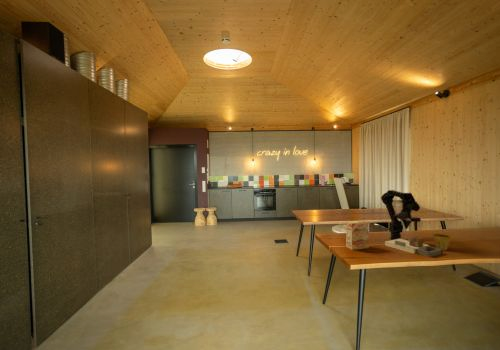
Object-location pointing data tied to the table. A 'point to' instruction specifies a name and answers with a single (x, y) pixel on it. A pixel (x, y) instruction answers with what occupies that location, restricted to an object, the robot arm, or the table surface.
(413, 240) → the walnut block
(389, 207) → the robot arm
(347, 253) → the table surface
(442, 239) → the plant pot
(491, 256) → the table surface
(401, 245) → the tunnel deck
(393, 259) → the table surface
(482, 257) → the table surface
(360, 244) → the coffeecake box
